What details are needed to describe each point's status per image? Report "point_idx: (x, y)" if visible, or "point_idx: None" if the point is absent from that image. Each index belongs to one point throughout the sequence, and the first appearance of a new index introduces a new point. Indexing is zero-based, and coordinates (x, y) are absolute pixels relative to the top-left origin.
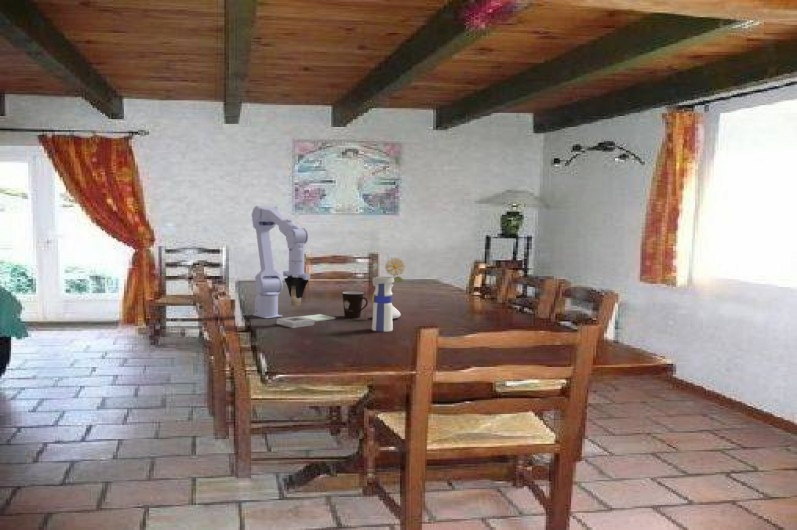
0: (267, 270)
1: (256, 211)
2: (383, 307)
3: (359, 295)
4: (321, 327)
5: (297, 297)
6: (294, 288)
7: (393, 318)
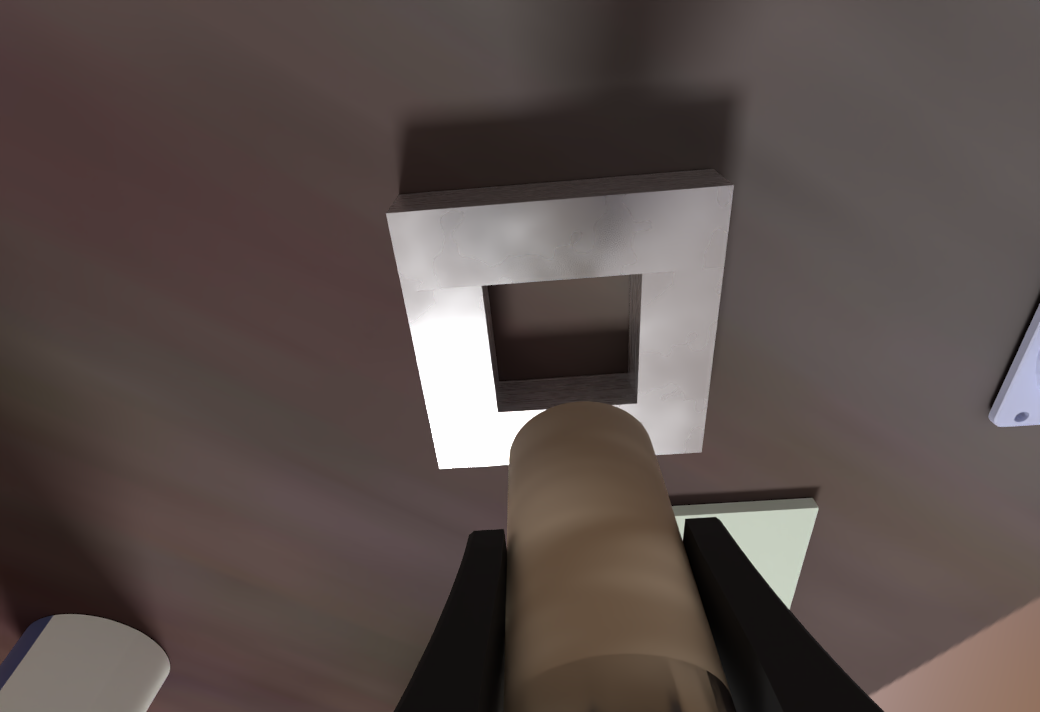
0: None
1: None
2: None
3: None
4: (315, 427)
5: (473, 538)
6: (552, 700)
7: None
